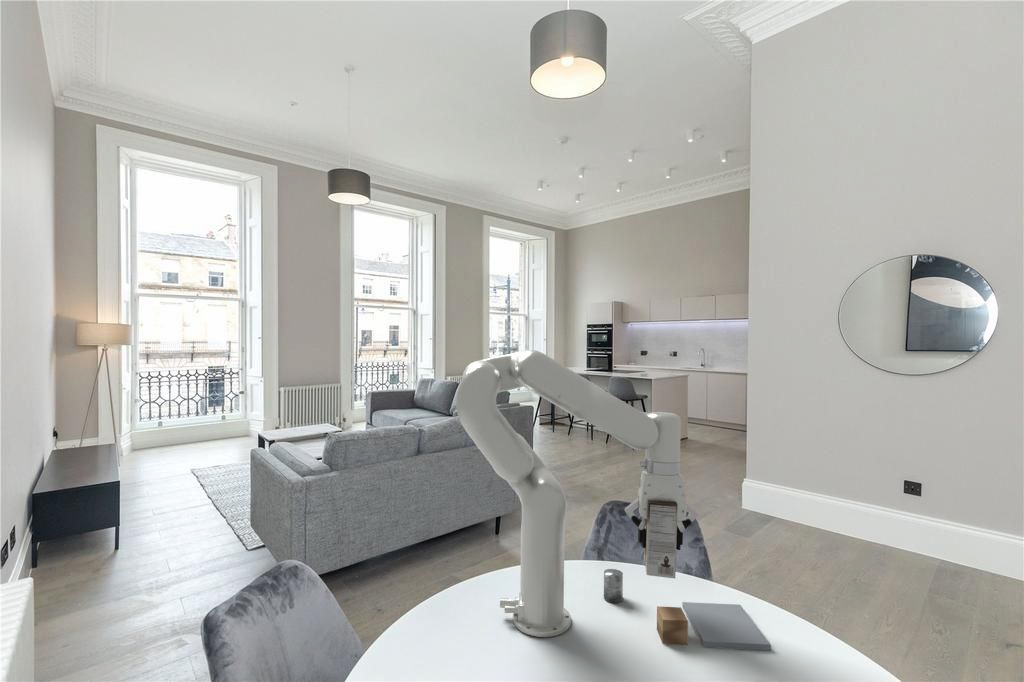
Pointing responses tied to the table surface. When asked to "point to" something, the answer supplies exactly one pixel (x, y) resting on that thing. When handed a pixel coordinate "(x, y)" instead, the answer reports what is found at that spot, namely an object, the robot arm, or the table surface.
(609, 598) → the metal canister
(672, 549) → the coffee box
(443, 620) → the table surface
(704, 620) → the slate board
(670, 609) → the walnut block
